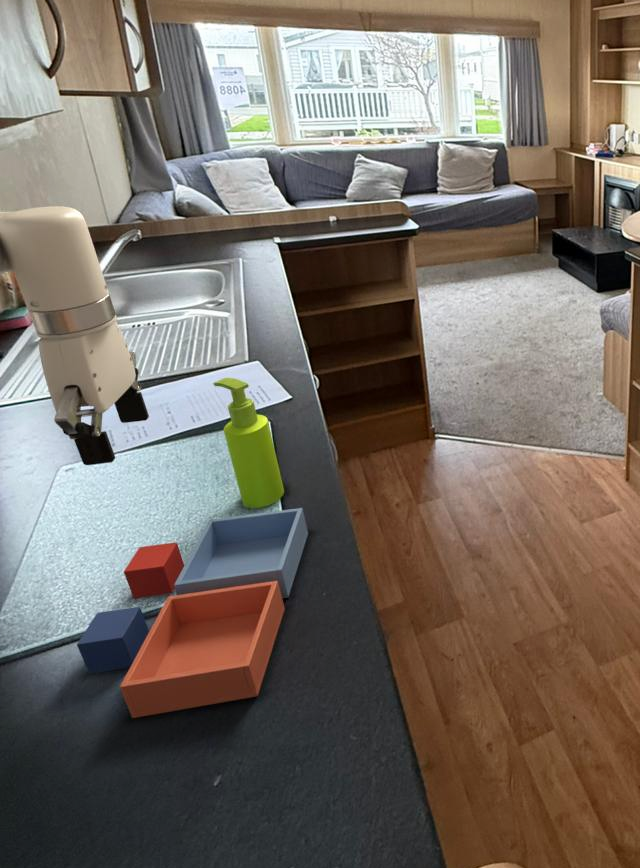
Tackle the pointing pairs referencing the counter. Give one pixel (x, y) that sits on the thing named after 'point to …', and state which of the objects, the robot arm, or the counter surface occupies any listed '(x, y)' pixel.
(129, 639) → the blue block
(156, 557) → the red block
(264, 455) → the soap dispenser
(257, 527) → the blue bin
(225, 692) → the red bin
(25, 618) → the counter surface
